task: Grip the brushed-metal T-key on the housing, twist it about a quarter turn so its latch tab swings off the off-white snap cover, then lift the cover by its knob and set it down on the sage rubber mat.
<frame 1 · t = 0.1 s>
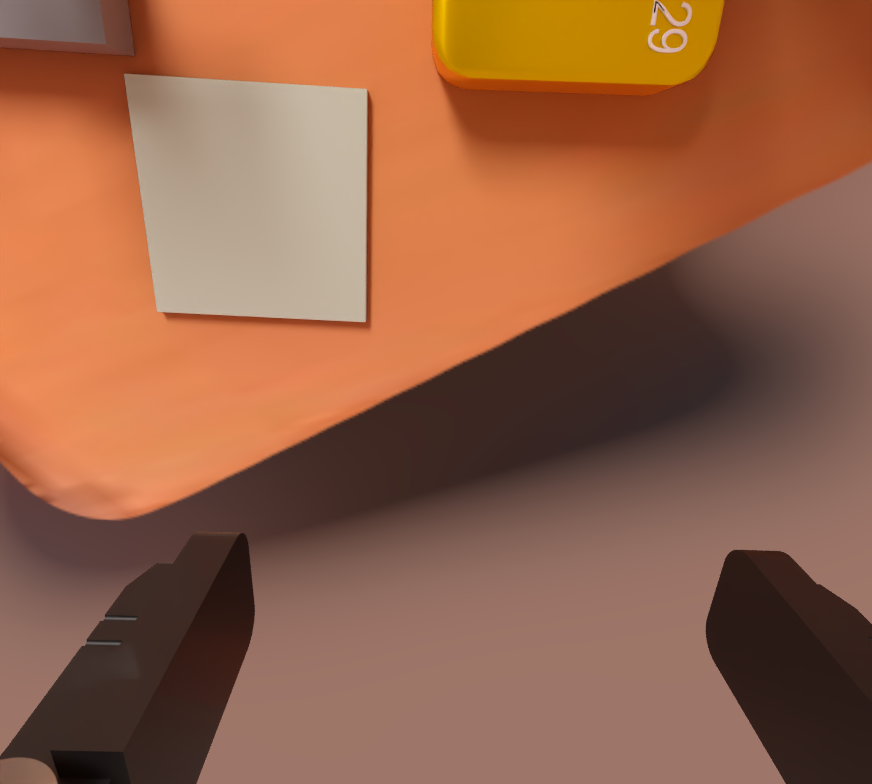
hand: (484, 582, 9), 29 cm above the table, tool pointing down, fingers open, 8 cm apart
mat: (257, 207, 34), on the table
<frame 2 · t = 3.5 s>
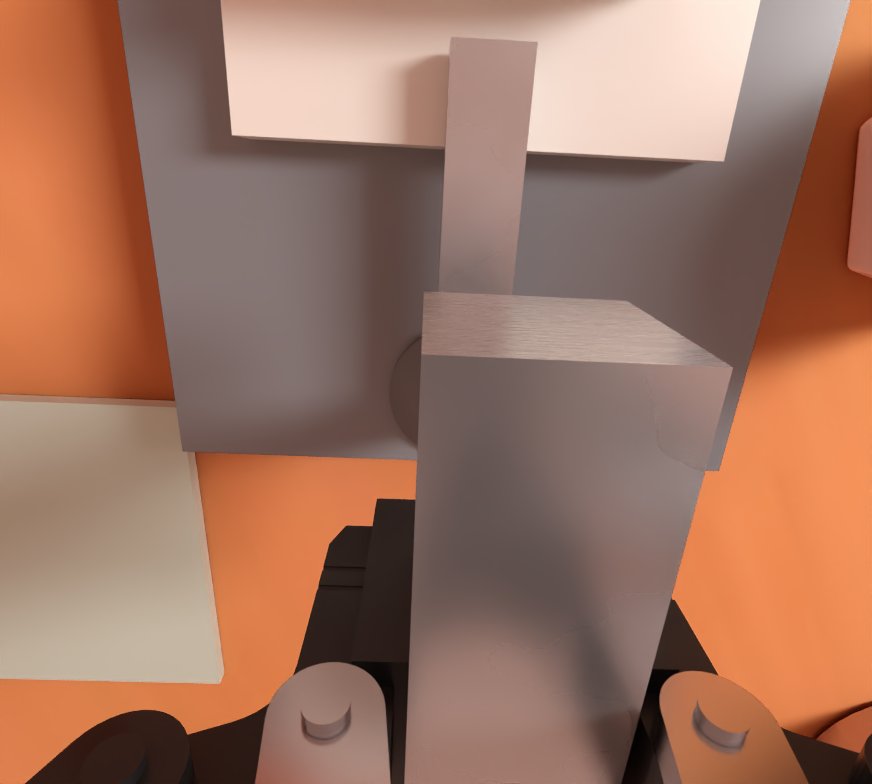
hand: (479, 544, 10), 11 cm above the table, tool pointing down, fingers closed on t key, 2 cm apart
housing: (473, 84, 16), on the table
t key: (482, 415, 11), point 9 cm above the table, hinge at 0.0°, touching gripper
mat: (40, 547, 23), on the table
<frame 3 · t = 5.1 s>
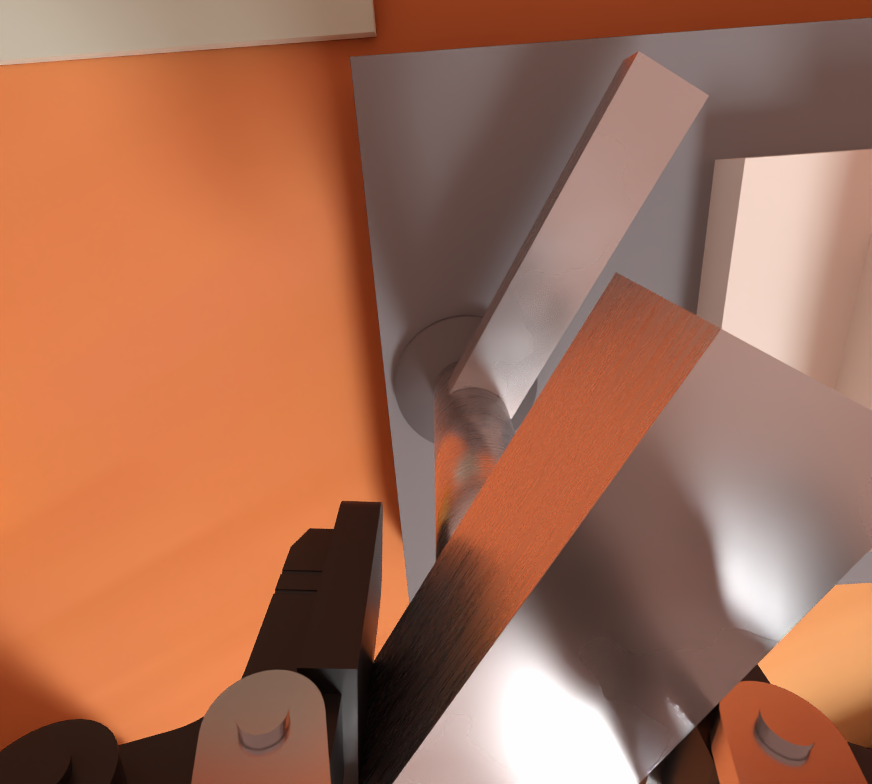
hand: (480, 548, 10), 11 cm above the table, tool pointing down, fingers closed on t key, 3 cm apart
housing: (708, 337, 19), on the table
cover: (852, 358, 17), point 3 cm above the table, touching housing
t key: (532, 413, 10), point 9 cm above the table, hinge at 59.6°, touching gripper
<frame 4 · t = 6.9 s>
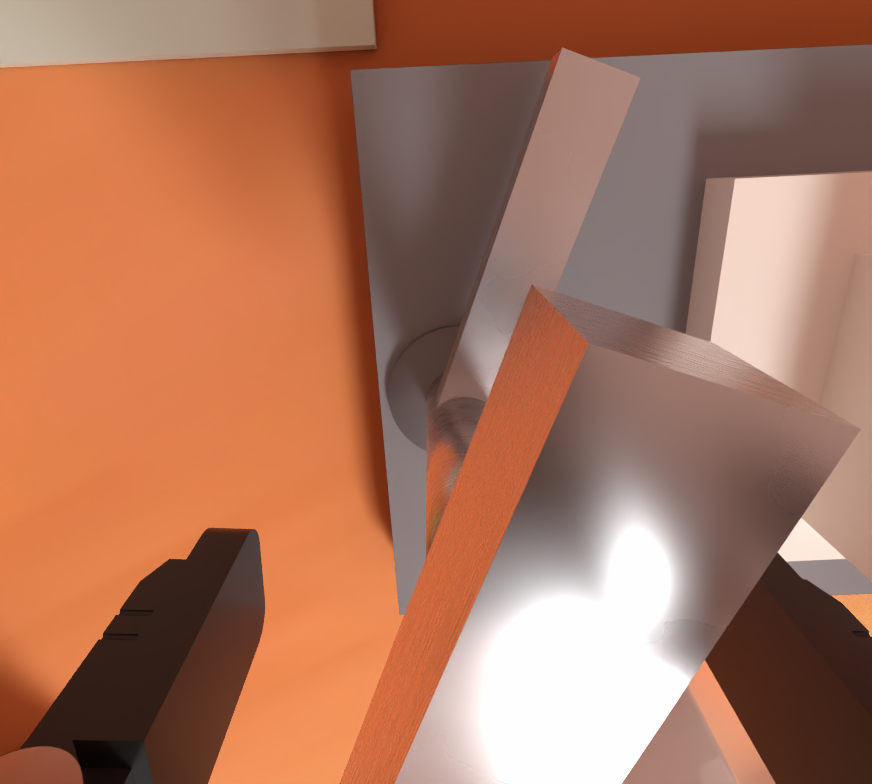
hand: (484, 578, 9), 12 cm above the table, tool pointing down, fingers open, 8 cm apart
housing: (697, 350, 20), on the table
cover: (837, 374, 17), point 3 cm above the table, touching housing
t key: (506, 419, 11), point 9 cm above the table, hinge at 69.7°
jar: (611, 675, 26), on the table
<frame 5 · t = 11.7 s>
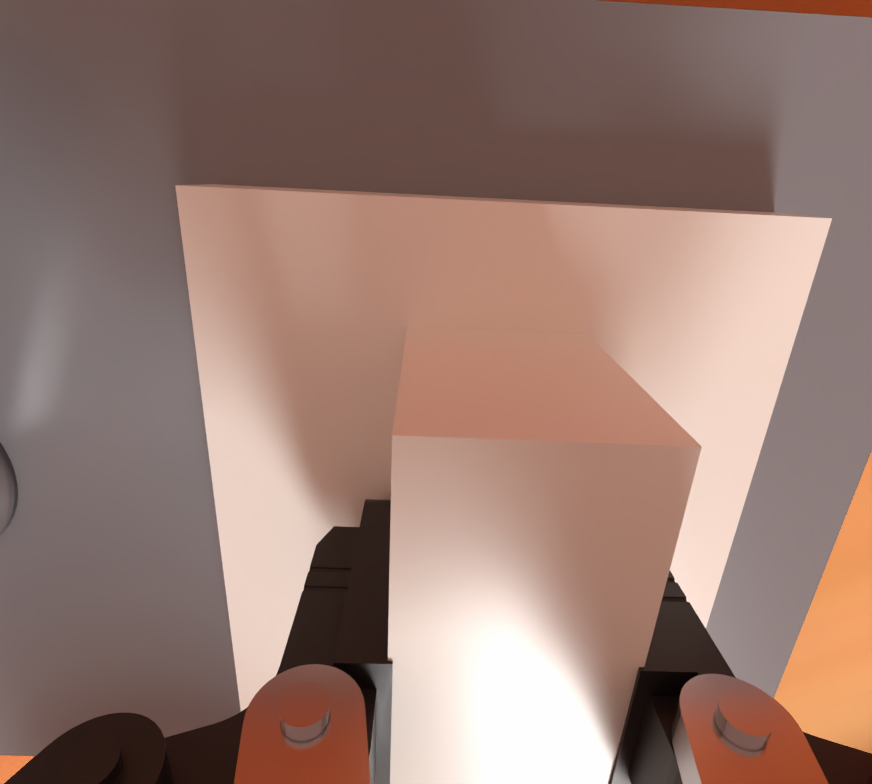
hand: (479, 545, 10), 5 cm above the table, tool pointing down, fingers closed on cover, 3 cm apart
housing: (353, 424, 14), on the table
cover: (473, 489, 12), point 3 cm above the table, touching gripper, housing
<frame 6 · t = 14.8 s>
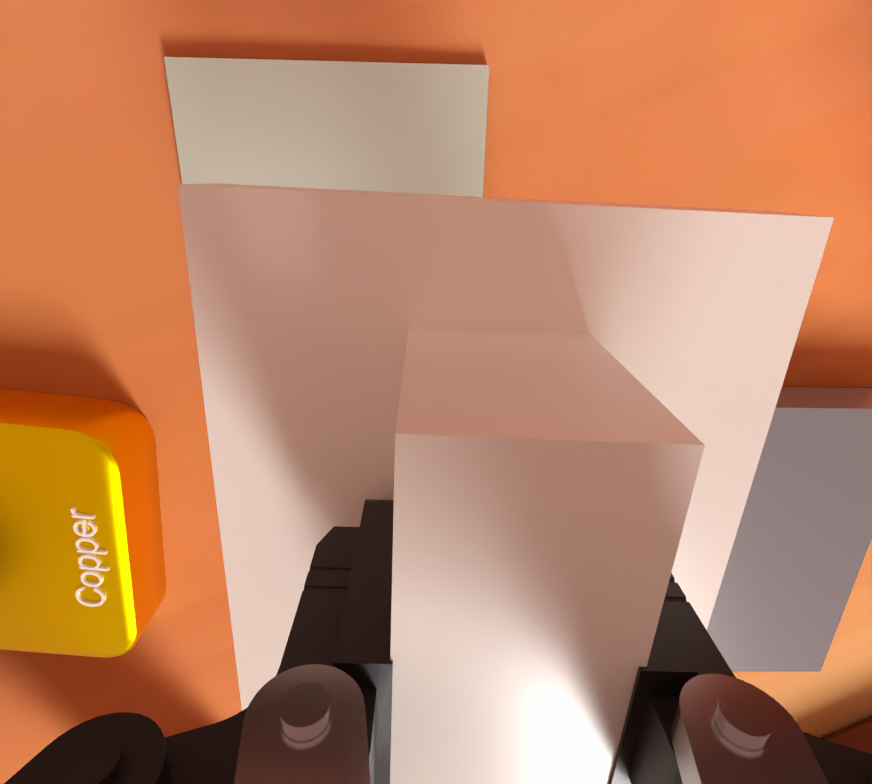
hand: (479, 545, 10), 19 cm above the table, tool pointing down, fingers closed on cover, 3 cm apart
housing: (644, 521, 33), on the table
element tile: (39, 500, 32), on the table
cover: (474, 488, 12), point 17 cm above the table, touching gripper
mat: (337, 228, 26), on the table
when the fingers open (4 cm above the table, at t = 18.0 s): cover drops 1 cm, resting on mat.
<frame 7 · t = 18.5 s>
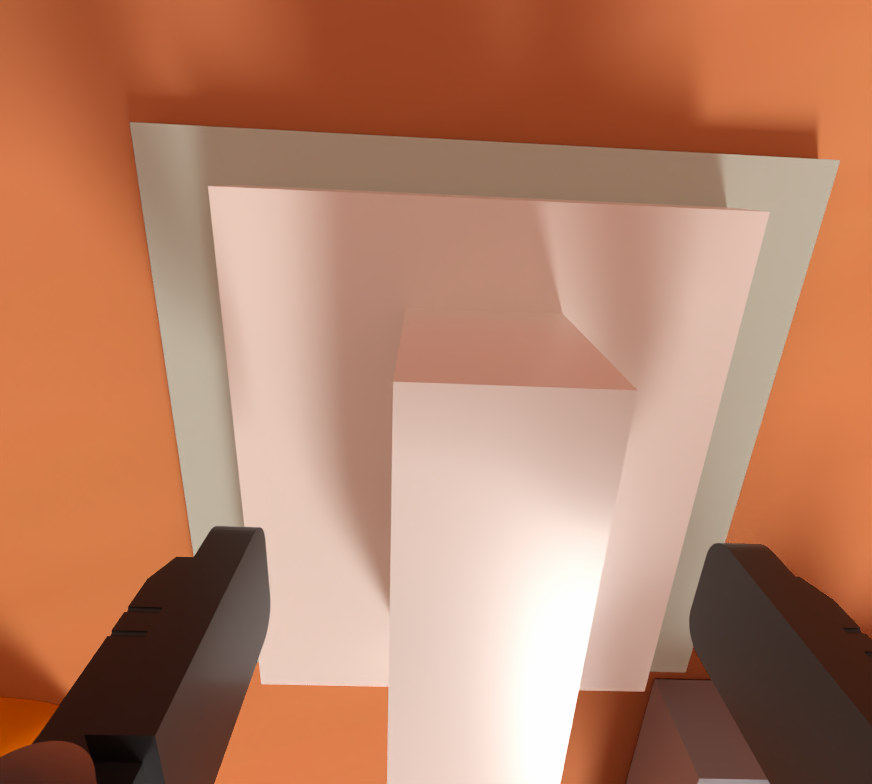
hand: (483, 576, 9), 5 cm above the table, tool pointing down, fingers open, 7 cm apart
cover: (465, 456, 13), point 1 cm above the table, touching mat
mat: (465, 444, 14), on the table
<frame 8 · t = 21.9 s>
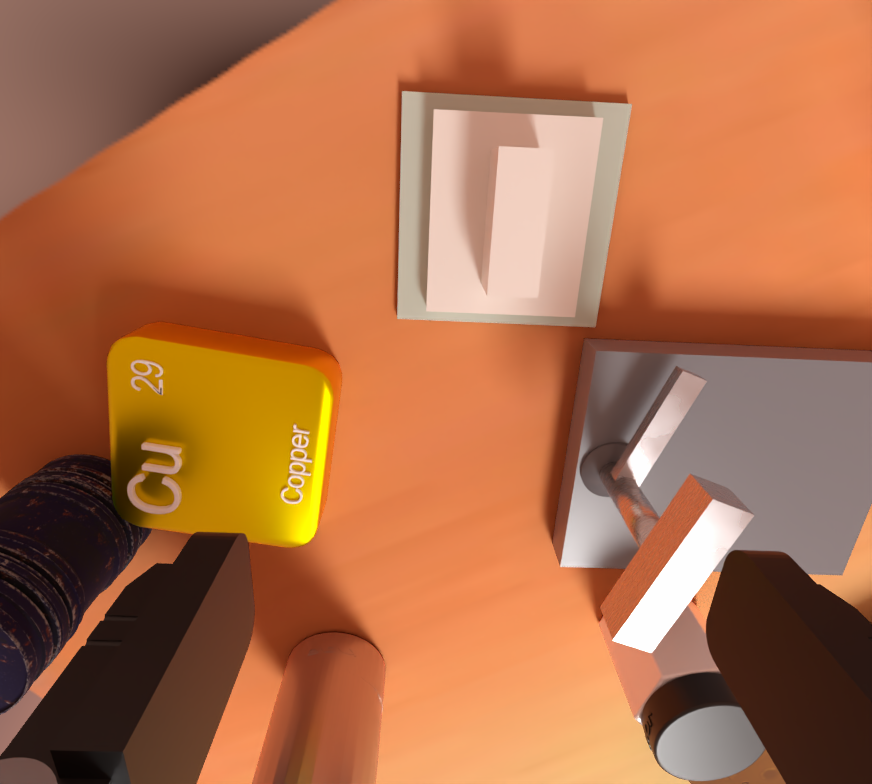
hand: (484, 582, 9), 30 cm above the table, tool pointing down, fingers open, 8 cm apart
housing: (710, 454, 42), on the table
diary: (800, 718, 55), on the table
element tile: (239, 424, 42), on the table
cover: (506, 218, 35), point 1 cm above the table, touching mat
t key: (658, 493, 33), point 9 cm above the table, hinge at 70.2°
jar: (646, 613, 49), on the table
mat: (505, 218, 36), on the table
storage jar: (95, 505, 44), on the table
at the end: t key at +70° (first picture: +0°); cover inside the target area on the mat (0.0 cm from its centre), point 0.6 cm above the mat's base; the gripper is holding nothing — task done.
